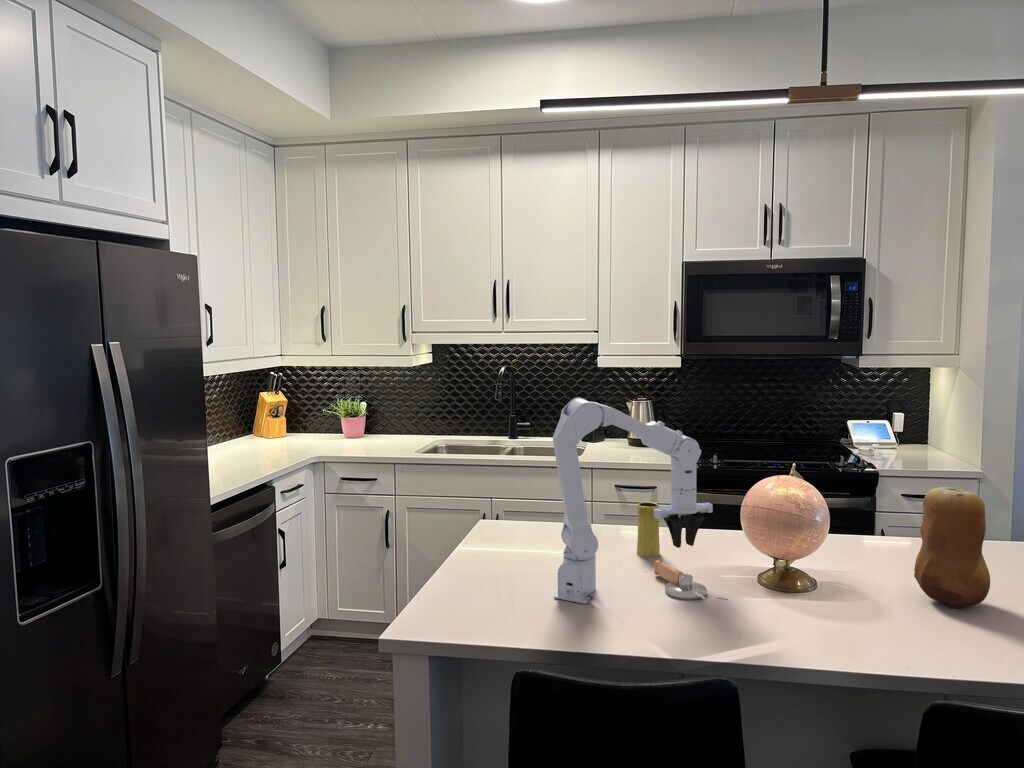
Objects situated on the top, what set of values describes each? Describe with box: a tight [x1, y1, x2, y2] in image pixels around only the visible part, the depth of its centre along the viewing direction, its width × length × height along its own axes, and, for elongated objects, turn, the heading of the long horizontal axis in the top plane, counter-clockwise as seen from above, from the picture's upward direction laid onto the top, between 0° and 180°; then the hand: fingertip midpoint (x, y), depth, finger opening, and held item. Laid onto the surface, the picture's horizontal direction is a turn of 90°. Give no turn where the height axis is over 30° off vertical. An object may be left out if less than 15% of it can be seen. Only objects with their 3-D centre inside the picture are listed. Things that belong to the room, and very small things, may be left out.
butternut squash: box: [913, 486, 991, 610], centre depth 155 cm, size 14×13×25 cm
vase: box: [636, 501, 661, 558], centre depth 188 cm, size 6×6×14 cm
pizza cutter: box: [653, 559, 708, 601], centre depth 164 cm, size 19×9×4 cm, turn 21°
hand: (683, 545), depth 169 cm, fingers open, 3 cm apart
